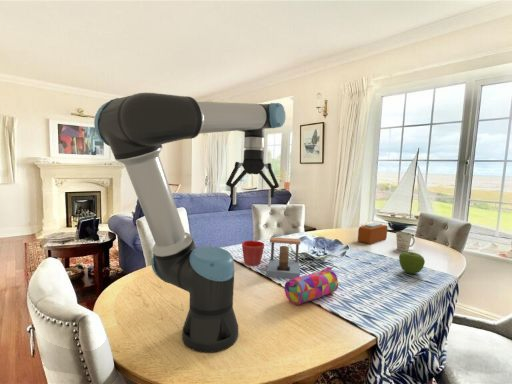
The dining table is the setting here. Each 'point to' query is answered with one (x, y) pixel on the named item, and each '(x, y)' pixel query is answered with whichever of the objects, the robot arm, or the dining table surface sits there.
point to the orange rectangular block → (372, 233)
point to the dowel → (283, 258)
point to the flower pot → (252, 252)
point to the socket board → (292, 265)
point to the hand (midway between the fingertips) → (251, 205)
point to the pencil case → (311, 286)
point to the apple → (411, 262)
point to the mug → (404, 241)
